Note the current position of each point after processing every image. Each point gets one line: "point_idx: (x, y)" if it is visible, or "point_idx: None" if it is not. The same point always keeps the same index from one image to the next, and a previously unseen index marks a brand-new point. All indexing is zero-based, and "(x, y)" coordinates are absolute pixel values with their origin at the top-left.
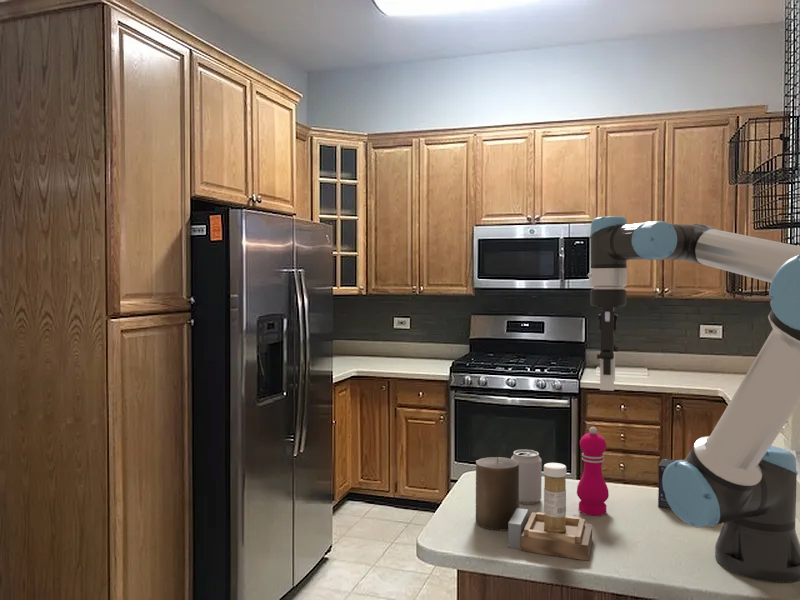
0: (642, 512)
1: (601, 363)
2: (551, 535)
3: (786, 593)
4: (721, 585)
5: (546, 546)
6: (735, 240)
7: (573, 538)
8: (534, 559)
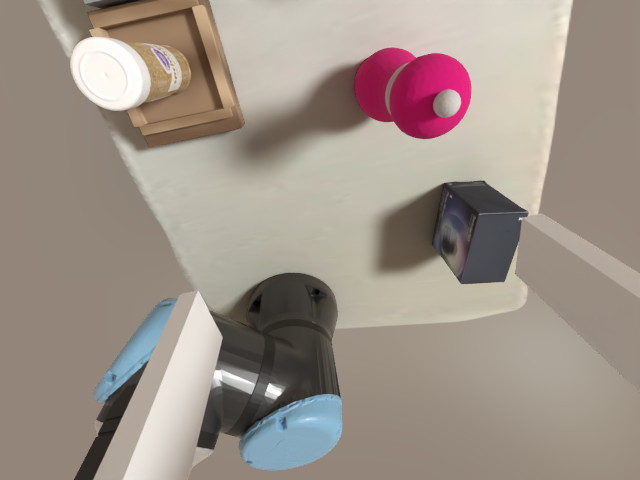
0: (409, 166)
1: (118, 446)
2: None
3: None
4: (211, 286)
5: None
6: None
7: (134, 124)
8: None
